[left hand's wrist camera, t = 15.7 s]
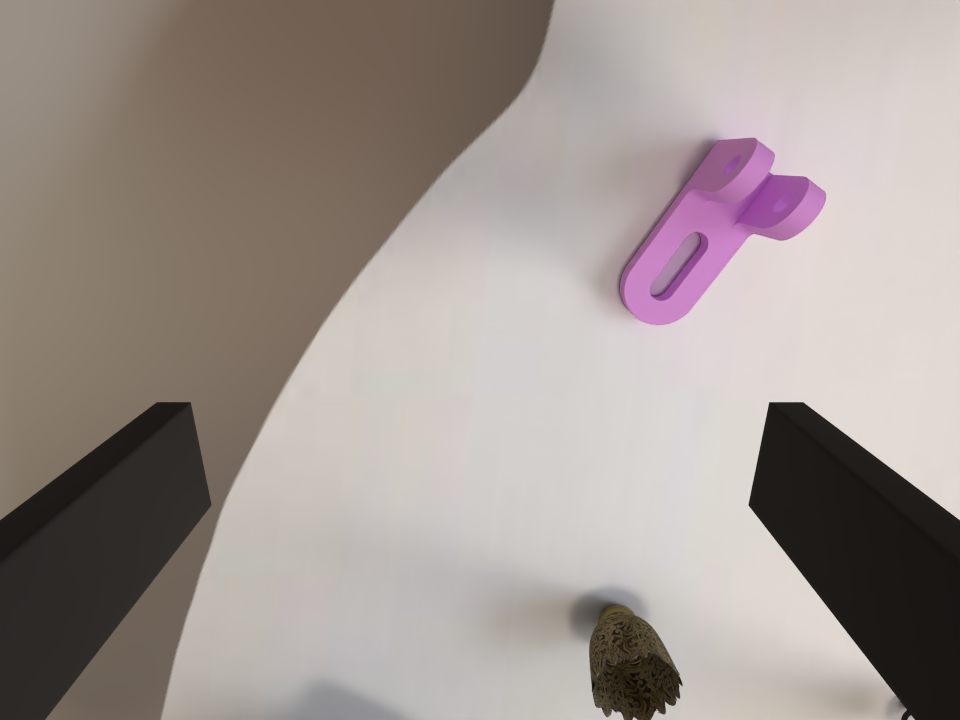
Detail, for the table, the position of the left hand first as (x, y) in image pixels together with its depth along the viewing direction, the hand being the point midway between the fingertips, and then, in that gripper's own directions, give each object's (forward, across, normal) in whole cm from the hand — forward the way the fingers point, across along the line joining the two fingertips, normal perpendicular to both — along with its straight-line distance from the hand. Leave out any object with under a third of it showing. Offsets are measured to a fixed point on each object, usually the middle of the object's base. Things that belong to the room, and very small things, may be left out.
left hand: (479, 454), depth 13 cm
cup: (+30, +13, -35) cm, 48 cm away
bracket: (+30, +15, +1) cm, 34 cm away
